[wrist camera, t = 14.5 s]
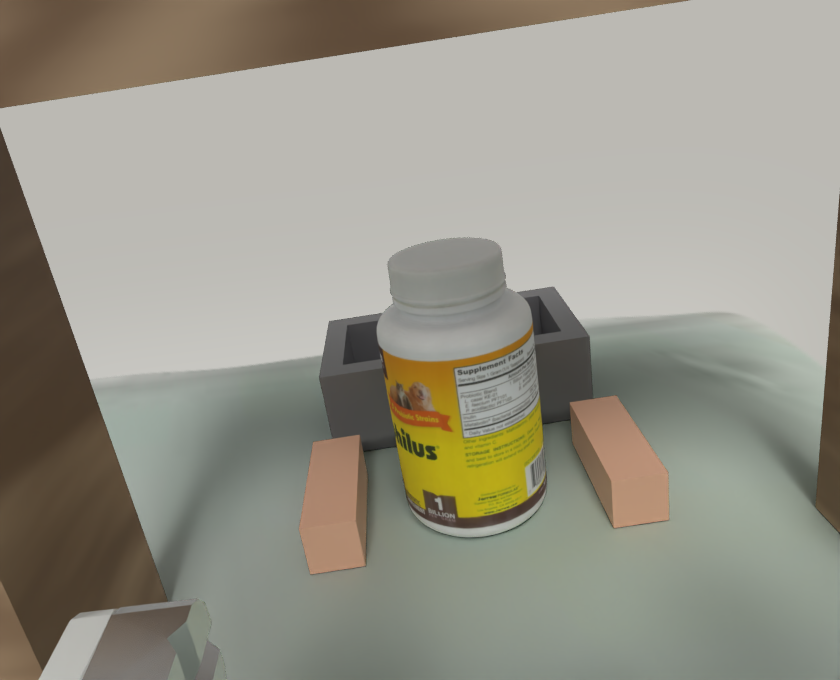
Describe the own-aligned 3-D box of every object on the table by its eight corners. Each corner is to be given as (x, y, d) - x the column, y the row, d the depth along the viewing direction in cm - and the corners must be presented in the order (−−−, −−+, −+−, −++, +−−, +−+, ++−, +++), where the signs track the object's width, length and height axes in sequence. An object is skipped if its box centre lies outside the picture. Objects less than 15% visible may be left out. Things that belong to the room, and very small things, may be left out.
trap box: (336, 455, 34) (319, 377, 32) (342, 388, 40) (328, 321, 38) (594, 415, 33) (589, 336, 32) (559, 355, 40) (553, 286, 38)
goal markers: (310, 574, 26) (298, 529, 25) (322, 481, 32) (313, 441, 31) (669, 519, 26) (668, 472, 25) (618, 436, 32) (616, 395, 31)
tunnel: (43, 803, 19) (-349, 30, 12) (127, 611, 26) (-95, 34, 18) (1020, 655, 19) (1220, -218, 12) (857, 500, 26) (922, -126, 18)
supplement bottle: (391, 485, 31) (347, 252, 27) (512, 448, 32) (486, 221, 28) (435, 564, 26) (388, 292, 22) (575, 517, 27) (555, 252, 23)
